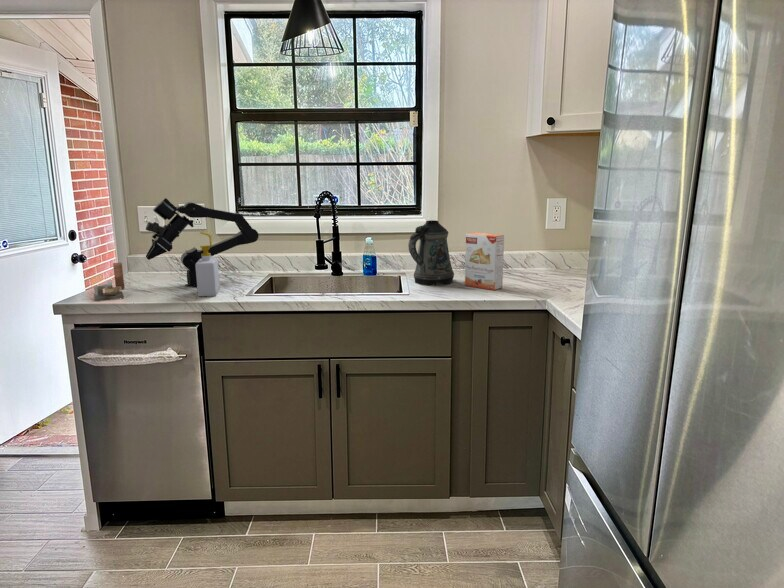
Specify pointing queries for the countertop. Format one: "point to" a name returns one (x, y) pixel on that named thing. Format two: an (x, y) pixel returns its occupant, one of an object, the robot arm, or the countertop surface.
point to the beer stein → (431, 255)
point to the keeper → (99, 288)
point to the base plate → (109, 296)
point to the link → (116, 280)
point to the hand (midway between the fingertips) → (147, 258)
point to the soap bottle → (207, 272)
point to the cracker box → (484, 260)
